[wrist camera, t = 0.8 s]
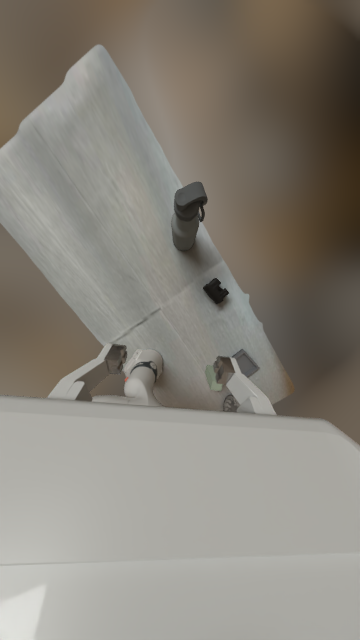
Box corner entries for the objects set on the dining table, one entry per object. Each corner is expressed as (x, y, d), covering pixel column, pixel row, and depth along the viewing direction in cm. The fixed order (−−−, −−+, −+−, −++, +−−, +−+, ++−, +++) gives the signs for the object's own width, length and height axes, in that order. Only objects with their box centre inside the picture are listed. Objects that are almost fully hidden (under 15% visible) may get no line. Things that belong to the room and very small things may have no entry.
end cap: (201, 288, 64) (204, 288, 57) (212, 278, 63) (216, 276, 56) (214, 303, 66) (218, 304, 59) (225, 293, 65) (230, 294, 58)
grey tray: (237, 379, 75) (239, 383, 72) (222, 364, 73) (224, 367, 70) (256, 365, 73) (259, 368, 70) (241, 348, 71) (244, 351, 68)
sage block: (213, 374, 74) (220, 391, 61) (205, 372, 74) (210, 389, 61) (215, 366, 73) (223, 381, 60) (206, 365, 73) (212, 380, 60)
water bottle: (189, 222, 58) (200, 160, 31) (198, 244, 60) (215, 204, 32) (169, 233, 59) (161, 182, 31) (178, 254, 61) (178, 223, 33)
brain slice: (244, 382, 76) (246, 386, 73) (256, 403, 79) (259, 407, 76) (214, 398, 78) (216, 402, 75) (228, 417, 81) (229, 422, 78)
